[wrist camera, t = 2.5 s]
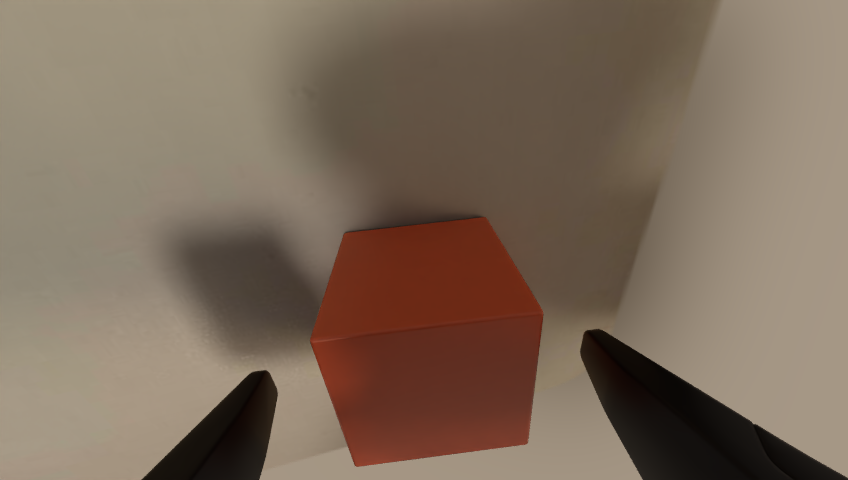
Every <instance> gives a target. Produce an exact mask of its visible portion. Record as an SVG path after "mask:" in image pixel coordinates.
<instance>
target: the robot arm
mask: <svg viewBox="0 0 848 480" xmlns="http://www.w3.org/2000/svg"><path fill="white" fill-rule="evenodd" d="M580 354H581V358H582V361H583V363H584V365H585V368H586V370H587V372H588V374H589V377H590V379H591V381H592V384H593V386H594V388H595V391H596V393H597V395H598V397H599V400H600V402H601V404H602V406H603V408H604V410H605V412H606V414H607V416H608V418H609V420H610V422H611V423H612V425H613V427H614V429H615V431H616V433H617V434H618V436H619V438H620V440H621V442H622V443H623V445H624V447H625V449H626V450H627V452H628V454H629V455H630V458H631V459H632V461H633V463H634V465H635V467H636V468H637V470H638V472H639V474H640V475H641V477H642V479H643V480H848V478H847V477H845V476H843V475H842V474H840V473H838V472H836V471H834V470H832V469H831V468H829V467H827V466H826V465H824V464H822V463H820V462H818V461H817V460H815V459H813V458H811V457H810V456H808V455H806V454H805V453H803V452H801V451H800V450H798V449H796V448H794V447H793V446H791V445H789V444H788V443H786V442H784V441H783V440H781V439H779V438H778V437H776V436H774V435H773V434H771V433H769V432H768V431H766V430H765V429H763V428H761V427H760V426H758V425H756V424H753V423H752V422H751V421H750V420H748V419H746V418H745V417H743V416H742V415H740V414H738V413H737V412H735V411H733V410H732V409H730V408H729V407H727V406H725V405H724V404H722V403H720V402H719V401H717V400H715V399H714V398H712V397H711V396H709V395H707V394H706V393H704V392H702V391H701V390H699V389H698V388H696V387H694V386H693V385H691V384H689V383H688V382H686V381H684V380H683V379H681V378H680V377H678V376H676V375H675V374H673V373H671V372H670V371H668V370H666V369H665V368H663V367H662V366H660V365H658V364H657V363H655V362H653V361H652V360H650V359H649V358H647V357H645V356H644V355H642V354H640V353H639V352H637V351H636V350H634V349H632V348H631V347H629V346H627V345H625V344H624V343H622V342H621V341H619V340H618V339H616V338H614V337H613V336H611V335H609V334H608V333H606V332H605V331H603V330H600V329H594V330H587V331H585V332H584V335H583V340H582V344H581V349H580ZM277 396H278V392H277V388H276V386H275V384H274V381H273V379H272V377H271V375H270V373H269V372H268V371H267V370H263V371H255V372H252V373H250V374H249V375H248V376H247V377H246V378H245V379H244V380H243V381H242V382H241V383H240V384H239V385H238V386H237V387H236V388H235V389H234V390H233V391H232V392H231V393H229V394H228V395H227V396H226V397H225V398H224V399H223V400H222V401H221V402H220V403H219V404H218V405H217V406H216V407H215V408H214V409H213V410H212V411H211V412H210V413H209V414H208V415H207V416H206V417H205V418H204V419H203V420H202V421H201V422H200V423H199V424H198V425H197V426H196V427H195V428H194V429H193V430H192V431H191V432H190V433H189V434H188V435H187V436H186V437H185V438H184V439H183V440H182V441H181V442H180V443H178V444H177V445H176V446H175V447H174V448H173V449H172V450H171V451H170V452H169V453H168V454H167V455H166V456H165V457H164V458H163V459H162V460H161V461H160V462H159V463H158V464H157V465H156V466H155V467H154V468H153V469H152V470H151V471H150V472H149V473H148V474H147V475H146V476H145V477H144V478H143V479H142V480H259V479H260V475H261V472H262V468H263V465H264V461H265V458H266V453H267V449H268V444H269V439H270V434H271V428H272V423H273V418H274V413H275V407H276V402H277Z"/></svg>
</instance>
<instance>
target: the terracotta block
mask: <svg viewBox="0 0 848 480" xmlns="http://www.w3.org/2000/svg"><path fill="white" fill-rule="evenodd" d="M542 322H543V310H542V309H541V307H540V305H539V304H538V302H537V300H536V299H535V297H534V295H533V294H532V292H531V291H530V289H529V287H528V286H527V284H526V282H525V281H524V279H523V277H522V276H521V274H520V272H519V271H518V269H517V268H516V266H515V264H514V263H513V261H512V259H511V258H510V256H509V254H508V253H507V251H506V249H505V248H504V246H503V244H502V243H501V241H500V240H499V238H498V236H497V235H496V233H495V231H494V230H493V228H492V226H491V225H490V223H489V221H488V220H487V218H486V217H481V218H472V219H463V220H454V221H446V222H437V223H428V224H419V225H410V226H402V227H393V228H384V229H375V230H366V231H358V232H349V233H345V234H344V235H343V238H342V242H341V245H340V248H339V251H338V254H337V257H336V260H335V263H334V266H333V270H332V273H331V276H330V279H329V282H328V285H327V288H326V291H325V295H324V298H323V301H322V304H321V307H320V310H319V313H318V316H317V320H316V323H315V326H314V329H313V332H312V335H311V338H310V343H311V346H312V348H313V351H314V354H315V357H316V359H317V362H318V365H319V368H320V370H321V373H322V376H323V379H324V382H325V384H326V387H327V390H328V393H329V395H330V398H331V401H332V404H333V406H334V409H335V412H336V415H337V417H338V420H339V423H340V426H341V429H342V431H343V434H344V437H345V440H346V442H347V445H348V448H349V451H350V453H351V456H352V459H353V462H354V464H355V466H357V467H359V466H367V465H374V464H382V463H389V462H397V461H404V460H412V459H419V458H427V457H434V456H442V455H450V454H457V453H464V452H473V451H480V450H488V449H495V448H503V447H510V446H517V445H525V444H527V443H528V438H529V429H530V421H531V413H532V404H533V396H534V388H535V380H536V371H537V363H538V355H539V346H540V338H541V330H542Z"/></svg>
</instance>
